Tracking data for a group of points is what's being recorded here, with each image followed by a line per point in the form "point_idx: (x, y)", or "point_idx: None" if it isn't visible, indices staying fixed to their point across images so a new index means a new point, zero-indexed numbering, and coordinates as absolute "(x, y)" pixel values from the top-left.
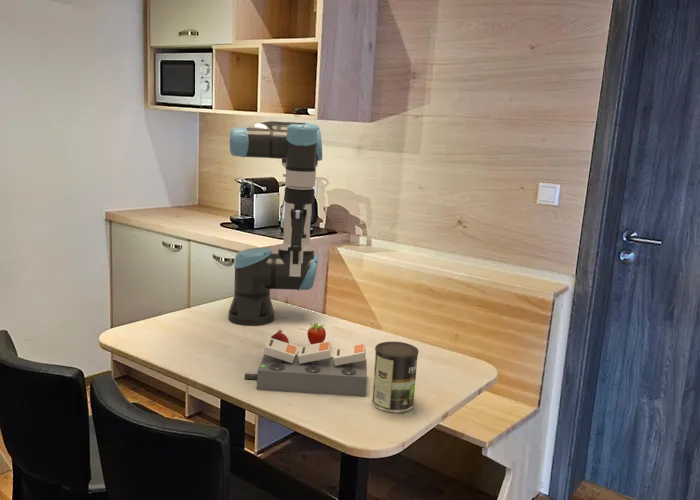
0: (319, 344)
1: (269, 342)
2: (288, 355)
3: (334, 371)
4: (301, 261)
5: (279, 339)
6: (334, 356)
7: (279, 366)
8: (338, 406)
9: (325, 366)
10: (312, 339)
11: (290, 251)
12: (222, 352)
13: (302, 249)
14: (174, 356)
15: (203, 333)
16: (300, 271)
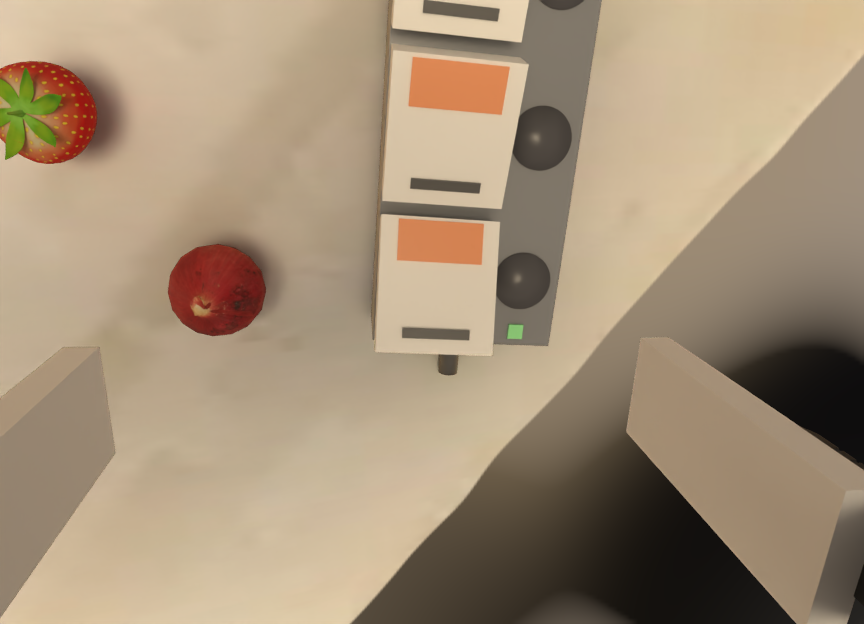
0: (411, 109)
1: (433, 341)
2: (497, 249)
3: (555, 42)
4: (91, 368)
5: (243, 296)
6: (497, 35)
7: (517, 272)
8: (660, 40)
9: None
10: (92, 135)
11: (836, 616)
12: (223, 472)
13: (10, 443)
14: (288, 594)
15: (38, 568)
16: (699, 358)
